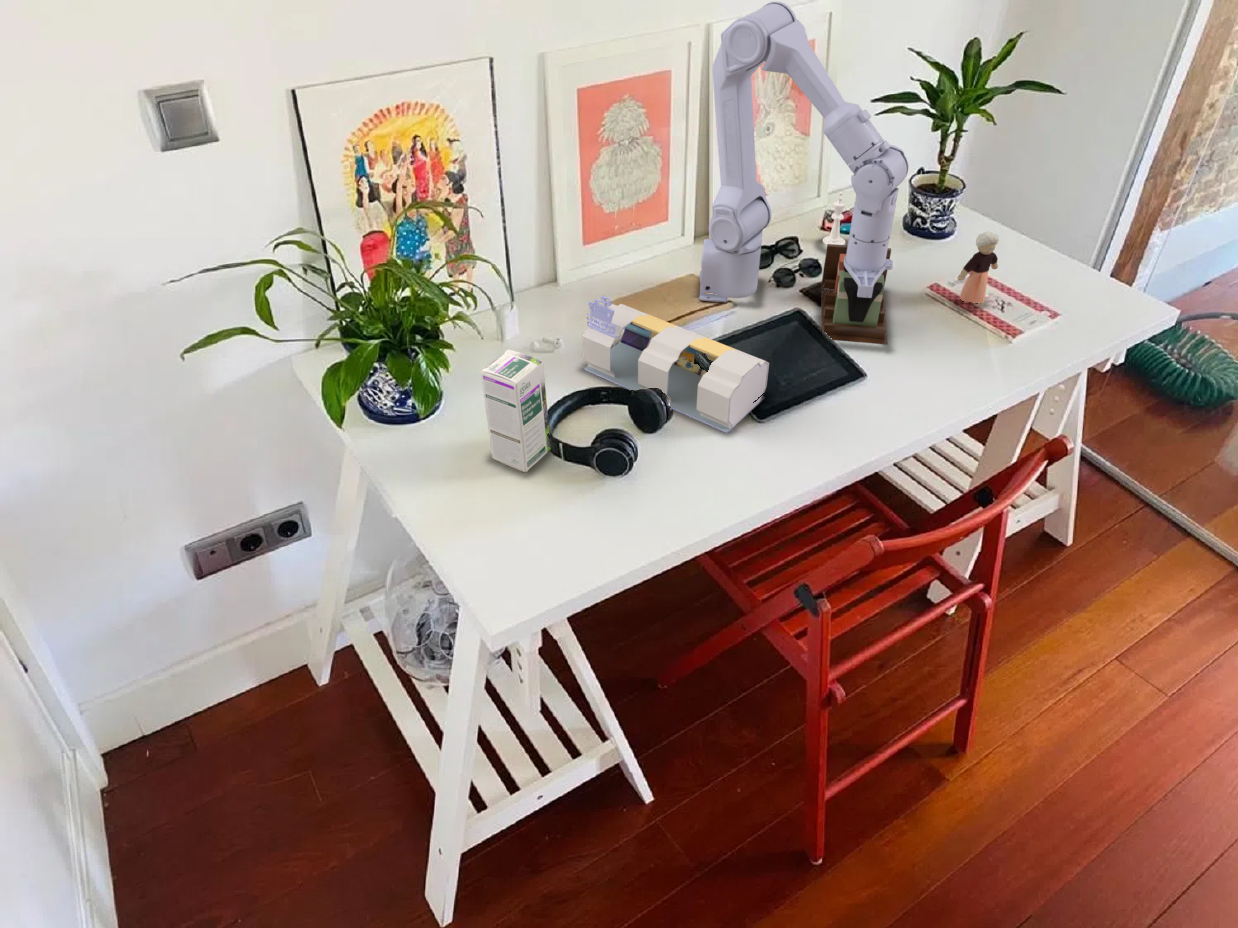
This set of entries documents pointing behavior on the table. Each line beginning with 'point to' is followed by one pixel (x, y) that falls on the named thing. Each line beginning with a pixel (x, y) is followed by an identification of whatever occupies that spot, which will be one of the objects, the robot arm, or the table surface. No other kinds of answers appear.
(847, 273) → the green book
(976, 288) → the grandmother figurine
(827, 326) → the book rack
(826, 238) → the chess piece
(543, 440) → the syrup box
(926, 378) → the table surface
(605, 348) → the diorama
